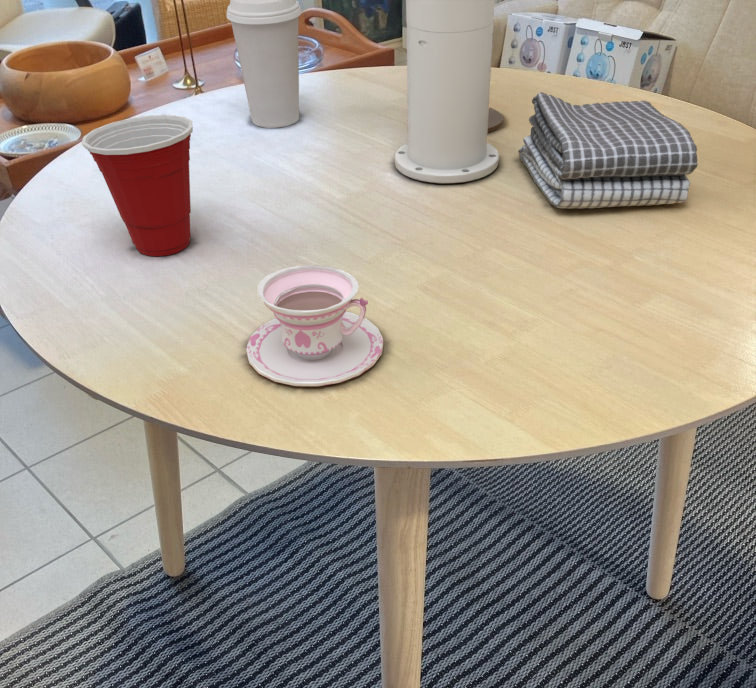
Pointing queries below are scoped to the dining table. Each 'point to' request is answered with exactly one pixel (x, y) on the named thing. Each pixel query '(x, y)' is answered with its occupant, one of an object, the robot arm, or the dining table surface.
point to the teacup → (313, 328)
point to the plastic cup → (148, 178)
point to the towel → (607, 154)
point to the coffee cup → (268, 58)
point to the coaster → (494, 120)
